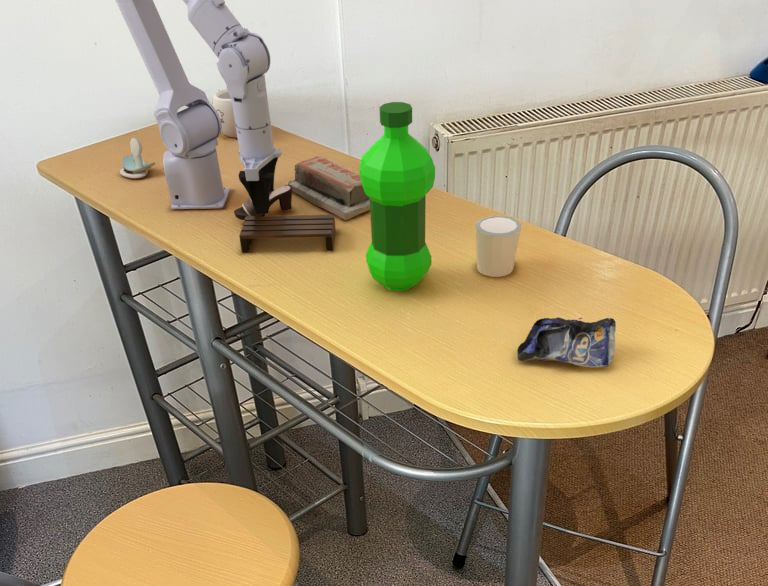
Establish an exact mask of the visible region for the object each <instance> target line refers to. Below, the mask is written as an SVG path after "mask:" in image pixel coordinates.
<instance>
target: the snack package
mask: <svg viewBox="0 0 768 586" xmlns="http://www.w3.org/2000/svg"><path fill="white" fill-rule="evenodd" d="M582 319H583V317H579V318H578V319H565V318H563V317H552V318H550V317H544V318H540V319H537V320H536V321H535V322H534V323H533V325H532V326H531V329H530V330H529V332H528V334H527V335H526V337H525V338H526V339H525V340H524V341H523V342H521V343H520V344H519V345H518V347H517V351H516V352H517V353H516V354H517V360H518V361H520V362H525V361H544V362H545V361H546V362H547V361H550V362H551V361H557V362H562V363H569V364H572V365H575V366H578V367H579V366H580V367H585V368H604V367H608V366H610V365H611V364H612V363H613V361H614V359H613V358H614V353H615V351H616V337H615V335H616V332H617V331H616V329H617V325H616V324H617V323H616V322H617V321H616V320H615V319H614V318H612V317H606V318H603V319H599V320H596V321H592V322H586V321H583V320H582Z"/></svg>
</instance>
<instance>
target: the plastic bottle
mask: <svg viewBox="0 0 768 586" xmlns="http://www.w3.org/2000/svg"><path fill="white" fill-rule="evenodd" d="M379 123H380V125H381V126H382V127H383V131H384V132H383V135H382V136H381V137H380V138H379V139H378V140H377V141H375V142H374V143H373V144H372V145H371V146H370V147H369V149H368V150H367V151H365V153H363V155H362V156H361V159H360V162H359V165H358V169H359V170H358V171H359V172H358V173H359V175H360V179H361V183H362V186H363V189H364V191H365V194H366V195H367V196H368V197H369V198H370V210H369V211H370V229H371V231H370V232H371V242H370V244H369V246H368V247H367V251H366V254H365V258H366V264H367V267H368V270H369V271H368V272H369V273H370V275H371V277H372V279H373V280H374V281H375V282H377V283H378V284H380V285H381V286H383V288H385V289H387V290H389V291H392V292H404V291H408V290H410V289H413V288H414V287H415V286H416V285H417V284H419V283H420V282H421V280H422V279H423V278H424V277H425V276H426V275H427V273H428V272H429V271H430V268H431V266H432V254H431V252H430V250H429V247H428V245H427V243H426V195H427V194H428V193H429V192H430V191H431V190H432V189H433V187H434V185H435V179H436V167H435V164H434V161H433V158H432V155H431V154H430V152H429V151H428V149H427V148H426V147H425V146H424V145H423V144H422V143H421V142H419V140H418V139H416V138H415V137H413V136H412V135H411V134H409V126H410V125H411V124H412V123H413V106H412V105H411V103H407V102H403V101H390V102H387V103H383V104H382V105H380V106H379Z"/></svg>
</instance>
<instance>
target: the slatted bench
mask: <svg viewBox="0 0 768 586" xmlns="http://www.w3.org/2000/svg"><path fill="white" fill-rule="evenodd" d="M336 232H337V231H336V220H335V214H295V215H291V214H290V215H264V216H246V217H245V220H243V224H242V226H241V229H240V232H239V235H238V236H239V242H240V248H241V253H242V254H243V253H245V254H247V253H249V251H250V247H251V244H252V241H253V239H254V240H255V239H297V238H298V239H301V238H303V239H305V238H325V246H326V252H333V251H334V246H335V239H336Z"/></svg>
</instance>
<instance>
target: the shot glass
mask: <svg viewBox="0 0 768 586" xmlns="http://www.w3.org/2000/svg"><path fill="white" fill-rule="evenodd" d="M521 231H522V224H521V222H520V221H519V220H518V219H516V218H514V217H512V216H507V215H488V216H485V217H482V218H480V219H478V221H476V222H475V243H476V248H475V250H476V270H477V271H478V272H479V273H480V274H482V275H484V276H487V277H493V278H498V277H506V276H508V275H510V274H511V273H512V272H513V271H514V266H515V262H516V257H517V252H518V246H519V242H520V241H519V240H520V236H521Z"/></svg>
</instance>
